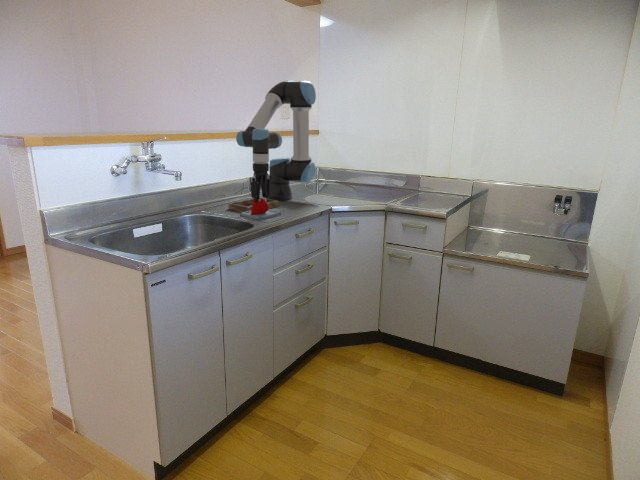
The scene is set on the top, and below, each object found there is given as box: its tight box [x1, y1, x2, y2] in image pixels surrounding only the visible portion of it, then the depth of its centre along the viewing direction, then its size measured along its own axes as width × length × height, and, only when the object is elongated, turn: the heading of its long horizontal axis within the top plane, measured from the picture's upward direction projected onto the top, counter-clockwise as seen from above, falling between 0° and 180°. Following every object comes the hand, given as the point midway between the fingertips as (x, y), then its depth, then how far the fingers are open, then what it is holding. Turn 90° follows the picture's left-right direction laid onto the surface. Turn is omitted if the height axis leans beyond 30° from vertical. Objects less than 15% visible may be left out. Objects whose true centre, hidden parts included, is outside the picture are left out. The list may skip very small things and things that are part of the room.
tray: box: [239, 208, 282, 221], centre depth 204 cm, size 15×13×2 cm
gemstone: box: [251, 197, 268, 215], centre depth 200 cm, size 9×9×10 cm
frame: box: [228, 198, 280, 213], centre depth 219 cm, size 23×14×3 cm, turn 145°
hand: (260, 211), depth 204 cm, fingers closed on gemstone, 3 cm apart
